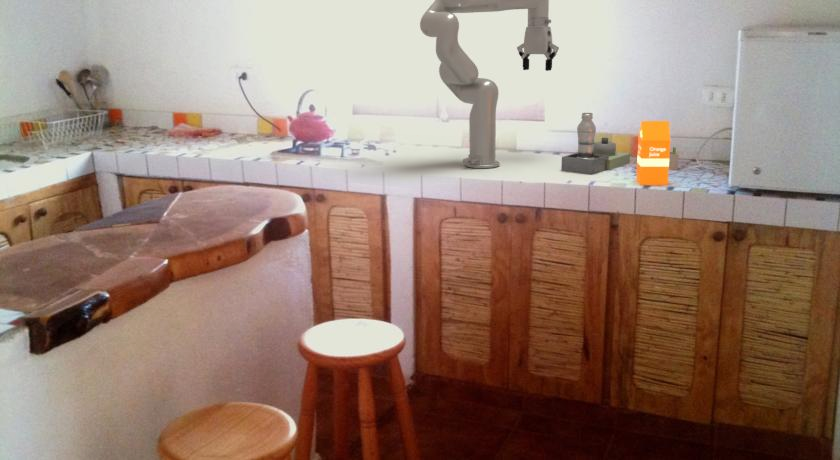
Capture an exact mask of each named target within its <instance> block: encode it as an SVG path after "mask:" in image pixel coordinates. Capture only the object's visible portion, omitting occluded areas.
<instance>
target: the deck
mask: <svg viewBox="0 0 840 460" xmlns="http://www.w3.org/2000/svg"><path fill="white" fill-rule="evenodd" d="M600 140H601V141H596V142H595V141H594V154H602V155H609V159H608V160H607V170H608V171H609V170H614V169H616V168H618V167H622V166H625V165H628V164H631V163H630V161H631V159H630V158H631V153H628V152H627V153H626V152H618V151H616V150H617V143H616V142H614V141H613V142H612V141H609V137H601V139H600ZM607 170H606V171H607Z"/></svg>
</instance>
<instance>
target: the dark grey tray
mask: <svg viewBox="0 0 840 460" xmlns="http://www.w3.org/2000/svg"><path fill="white" fill-rule="evenodd" d="M577 154H578V151H577V152H574V153H570V154H567V155H564V156H561V165H560V168H561V172H567V173H576V174H583V175H585V174H586V175H590V176H591V175H594V174H597V173H598V174H599V173H601V172H603V171H607V160H608V159H609V155H602V154H594V159H582V158H577Z"/></svg>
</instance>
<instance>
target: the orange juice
mask: <svg viewBox="0 0 840 460" xmlns="http://www.w3.org/2000/svg"><path fill="white" fill-rule="evenodd" d="M670 132H671V131H670V120H655V121H654V120H641V123H640V127H639V132H638V140H637V142H638V144H637V156H636V157H637V159H636V177H635V179H636V181H637V182H638V184H639V185H640V186H668V183H669V170H670V169H669V155H670V151H671V150H670V149H671V133H670Z"/></svg>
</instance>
